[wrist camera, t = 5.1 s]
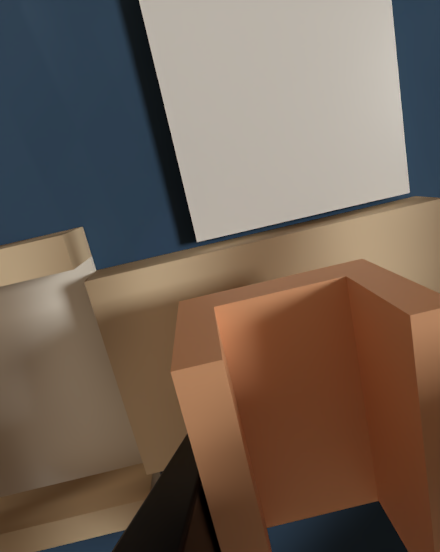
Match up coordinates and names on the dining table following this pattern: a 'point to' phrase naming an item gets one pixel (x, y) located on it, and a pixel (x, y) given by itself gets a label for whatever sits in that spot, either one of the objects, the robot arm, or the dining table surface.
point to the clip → (314, 401)
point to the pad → (279, 106)
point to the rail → (138, 356)
